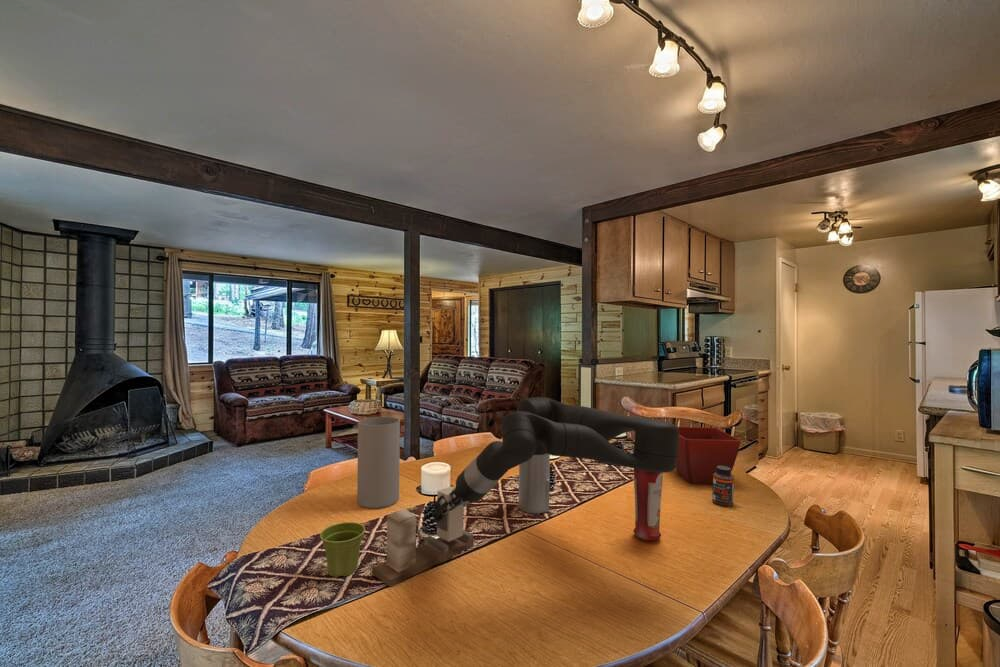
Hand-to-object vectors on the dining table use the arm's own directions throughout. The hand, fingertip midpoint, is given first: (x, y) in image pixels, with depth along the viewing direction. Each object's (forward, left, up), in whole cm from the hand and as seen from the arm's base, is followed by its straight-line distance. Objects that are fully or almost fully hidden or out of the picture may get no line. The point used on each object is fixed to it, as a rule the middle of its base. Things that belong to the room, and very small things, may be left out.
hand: (444, 514), depth 109 cm
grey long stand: (+3, +7, -8) cm, 11 cm away
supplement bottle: (-80, -38, -8) cm, 89 cm away
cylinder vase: (+27, -24, -8) cm, 37 cm away
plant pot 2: (-81, -61, -8) cm, 102 cm away
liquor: (-51, -11, -8) cm, 53 cm away
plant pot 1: (+20, +14, -8) cm, 25 cm away
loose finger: (-2, +1, -5) cm, 5 cm away
